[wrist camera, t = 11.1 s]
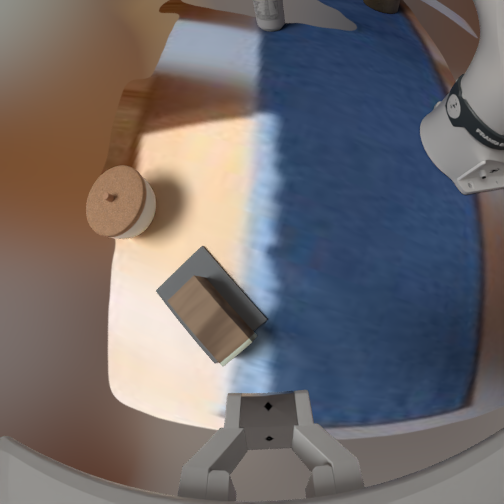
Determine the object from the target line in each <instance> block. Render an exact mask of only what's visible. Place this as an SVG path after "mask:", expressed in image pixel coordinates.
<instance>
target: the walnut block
mask: <svg viewBox="0 0 504 504" xmlns="http://www.w3.org/2000/svg"><path fill="white" fill-rule="evenodd" d="M168 303H169V304H170V305H171V306H172V308H173V309H174V310H175V311H176V313H177V314H178V315H179V316H180V318H181V319H182V320H183V321H184V323H185V324H186V325H187V326H188V327H189V329H190V330H191V331H192V332H193V333H194V335H195V336H196V337H197V338H198V339H199V340H200V342H201V343H202V344H203V345H204V346H205V347H206V349H207V350H208V351H209V352H210V353H211V354H212V355H213V356H214V358H215V359H216V360H217V361H218V362H219V363H220V364H221V365H222V366H225V365H226V364H227V363H228V362H229V361H231V360H232V359H233V358H234V357H235V356H237V355H238V354H239V353H240V352H241V351H243V350H244V349H245V348H246V347H247V346H248V345H250V344H251V343H252V342H253V341H254V340H255V338H256V337H257V335H256V334H255V332H254V331H253V330H252V329H251V328H250V327H249V326H248V325H247V324H246V323H245V321H244V320H243V319H242V318H241V317H240V316H239V315H238V314H237V313H236V311H235V310H234V309H233V308H232V307H231V306H230V305H229V304H228V302H227V301H226V300H225V299H224V298H223V297H222V296H221V294H220V293H219V292H218V291H217V290H216V289H215V288H214V286H213V285H212V284H211V283H210V282H209V281H208V279H207V278H206V277H200V276H195V275H194V276H193V277H192V278H191V279H190V280H189V281H187V282H186V283H185V284H184V285H183V286H182V287H181V288H180V289H179V290H178V291H177V292H176V293H175V294H174V295H173V296H172V297H171V298H170V299H169V300H168Z"/></svg>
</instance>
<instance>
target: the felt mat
mask: <svg viewBox="0 0 504 504" xmlns="http://www.w3.org/2000/svg"><path fill="white" fill-rule="evenodd" d="M194 275H195V276H200V277H206V278H207V279H208V281H209V282H210V283H211V284H212V285H213V286H214V288H215V289H216V290H217V291H218V292H219V293H220V294H221V296H222V297H223V298H224V299H225V300H226V301H227V302H228V304H229V305H230V306H231V307H232V308H233V309H234V310H235V311H236V313H237V314H238V315H239V316H240V317H241V318H242V319H243V320H244V321H245V323H246V324H247V325H248V326H249V327H250V328H251V329H252V330H253V331H255V330H256V329H257V328H258V327H259V326H260V325H261V324H263V323H264V322H265V321H266V320H267V318H266V317H265V316H264V315H263V314H262V313H261V312H260V311H259V310H258V308H257V307H256V306H255V305H254V304H253V303H252V302H251V301H250V299H249V298H248V297H247V296H246V295H245V294H244V293H243V292H242V290H241V289H240V288H239V287H238V286H237V285H236V284H235V282H234V281H233V280H232V279H231V278H230V277H229V276H228V274H227V273H226V272H225V271H224V270H223V269H222V268H221V266H220V265H219V264H218V263H217V262H216V261H215V259H214V258H213V257H212V256H211V255H210V254H209V252H208V251H207V250H206V249H205V248H204V247H203V246H202V247H200V248H199V249H198V250H197V251H196V252H195V253H194V254H193V255H192V256H191V257H190V258H189V259H188V260H187V261H186V262H185V263H184V264H183V265H182V266H181V267H180V268H179V269H178V270H176V271H175V272H174V273H173V274H172V275H171V276H170V277H169V278H168V279H167V280H166V281H165V282H164V283H163V284H162V285H161V286H160V287H159V288H158V289H157V290H156V292H157V293H158V294H159V296H160V297H161V298H162V300H163V301H164V302H165V304H166V305H167V306H168V307H169V309H170V310H171V311H172V313H173V314H174V315H175V316H176V318H177V319H178V320H179V321H180V323H181V324H182V325H183V326H184V328H185V329H186V330H187V331H188V333H189V334H190V335H191V336H192V337H193V339H194V340H195V341H196V342H197V343H198V345H199V346H200V347H201V348H202V349H203V351H204V352H205V353H206V354H207V355H208V356H209V357H210V359H211V360H212V361H213V362H214V363H216V362H218V361H217V360H216V359H215V358H214V356H213V355H212V354H211V353H210V352H209V351H208V350H207V349H206V347H205V346H204V345H203V344H202V343H201V342H200V340H199V339H198V338H197V337H196V336H195V335H194V333H193V332H192V331H191V330H190V329H189V327H188V326H187V325H186V324H185V323H184V321H183V320H182V319H181V318H180V316H179V315H178V314H177V313H176V311H175V310H174V309H173V308H172V306H171V305H170V304H169V303H168V300H169V299H170V298H171V297H172V296H173V295H174V294H175V293H176V292H177V291H178V290H179V289H180V288H181V287H182V286H183V285H184V284H185V283H186V282H187V281H189V280H190V279H191V278H192V277H193V276H194Z"/></svg>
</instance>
